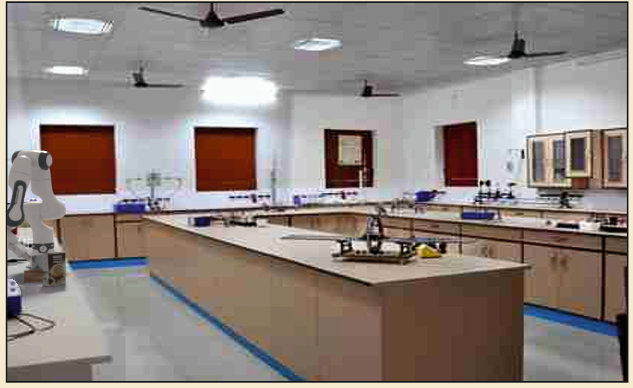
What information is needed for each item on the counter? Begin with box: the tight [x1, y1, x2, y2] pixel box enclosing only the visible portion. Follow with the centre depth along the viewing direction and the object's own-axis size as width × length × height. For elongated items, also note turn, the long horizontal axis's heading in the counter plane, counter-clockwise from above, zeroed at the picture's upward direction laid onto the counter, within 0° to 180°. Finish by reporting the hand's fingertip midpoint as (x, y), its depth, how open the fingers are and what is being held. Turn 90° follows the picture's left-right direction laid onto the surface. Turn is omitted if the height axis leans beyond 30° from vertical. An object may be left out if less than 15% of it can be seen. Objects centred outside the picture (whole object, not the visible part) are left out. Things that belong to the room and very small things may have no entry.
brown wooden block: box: [23, 269, 43, 284], centre depth 315 cm, size 11×14×6 cm
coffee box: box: [42, 251, 67, 288], centre depth 301 cm, size 9×6×16 cm
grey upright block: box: [31, 255, 43, 270], centre depth 329 cm, size 6×6×11 cm
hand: (30, 259), depth 327 cm, fingers open, 8 cm apart
